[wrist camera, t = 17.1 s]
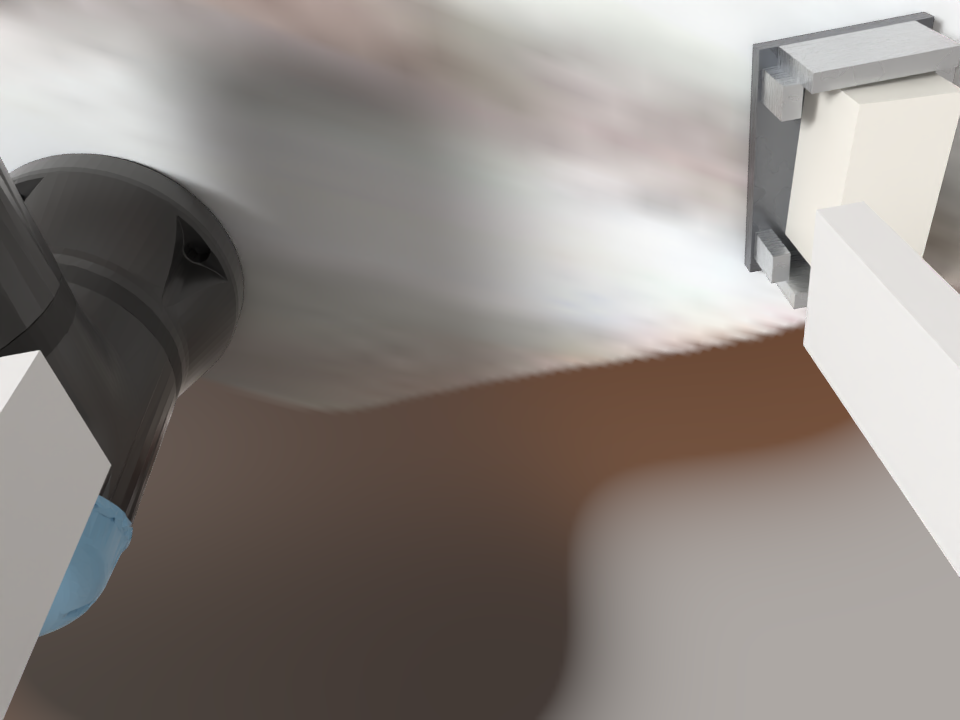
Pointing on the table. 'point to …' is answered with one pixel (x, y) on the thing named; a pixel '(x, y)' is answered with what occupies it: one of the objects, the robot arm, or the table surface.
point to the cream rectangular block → (874, 154)
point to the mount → (779, 111)
